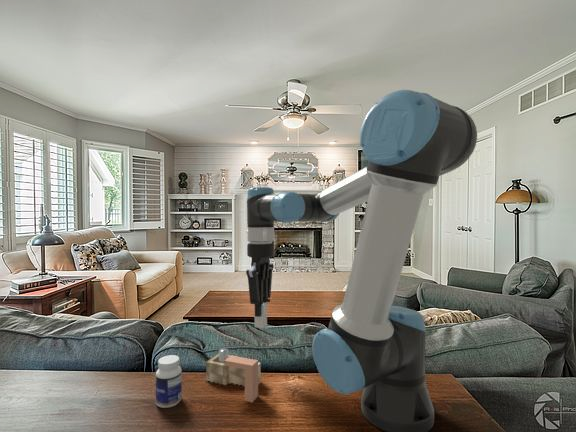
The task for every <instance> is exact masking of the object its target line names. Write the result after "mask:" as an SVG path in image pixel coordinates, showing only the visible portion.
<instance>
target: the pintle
mask: <svg viewBox="0 0 576 432" xmlns="http://www.w3.org/2000/svg"><path fill="white" fill-rule="evenodd" d="M218 354H219V363H224V361H225V360H226V359H227V358H228V355H229V349H228V348H226V347H225V348H224V347H223V348H220V349H218Z"/></svg>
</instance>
